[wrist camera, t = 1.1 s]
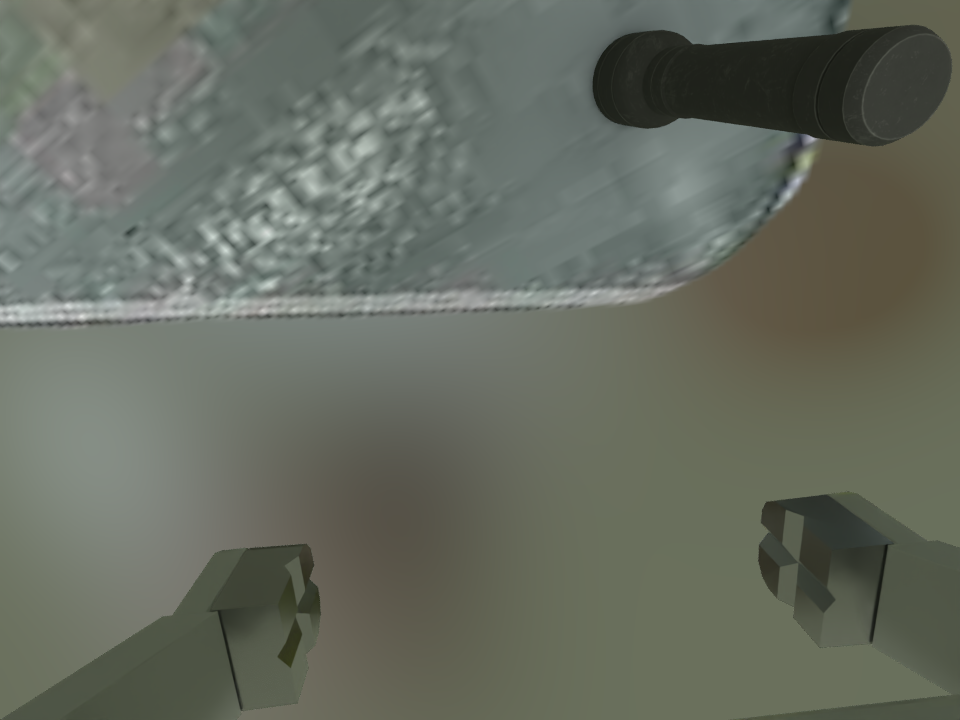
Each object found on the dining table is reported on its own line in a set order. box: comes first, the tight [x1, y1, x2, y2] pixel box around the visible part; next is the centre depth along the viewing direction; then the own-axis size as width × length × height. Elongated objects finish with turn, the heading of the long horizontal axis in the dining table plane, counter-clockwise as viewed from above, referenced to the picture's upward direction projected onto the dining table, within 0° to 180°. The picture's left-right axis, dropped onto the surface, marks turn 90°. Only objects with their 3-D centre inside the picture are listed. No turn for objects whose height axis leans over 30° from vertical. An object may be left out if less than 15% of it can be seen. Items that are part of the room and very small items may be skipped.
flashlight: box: [593, 25, 952, 146], centre depth 35 cm, size 7×28×7 cm
